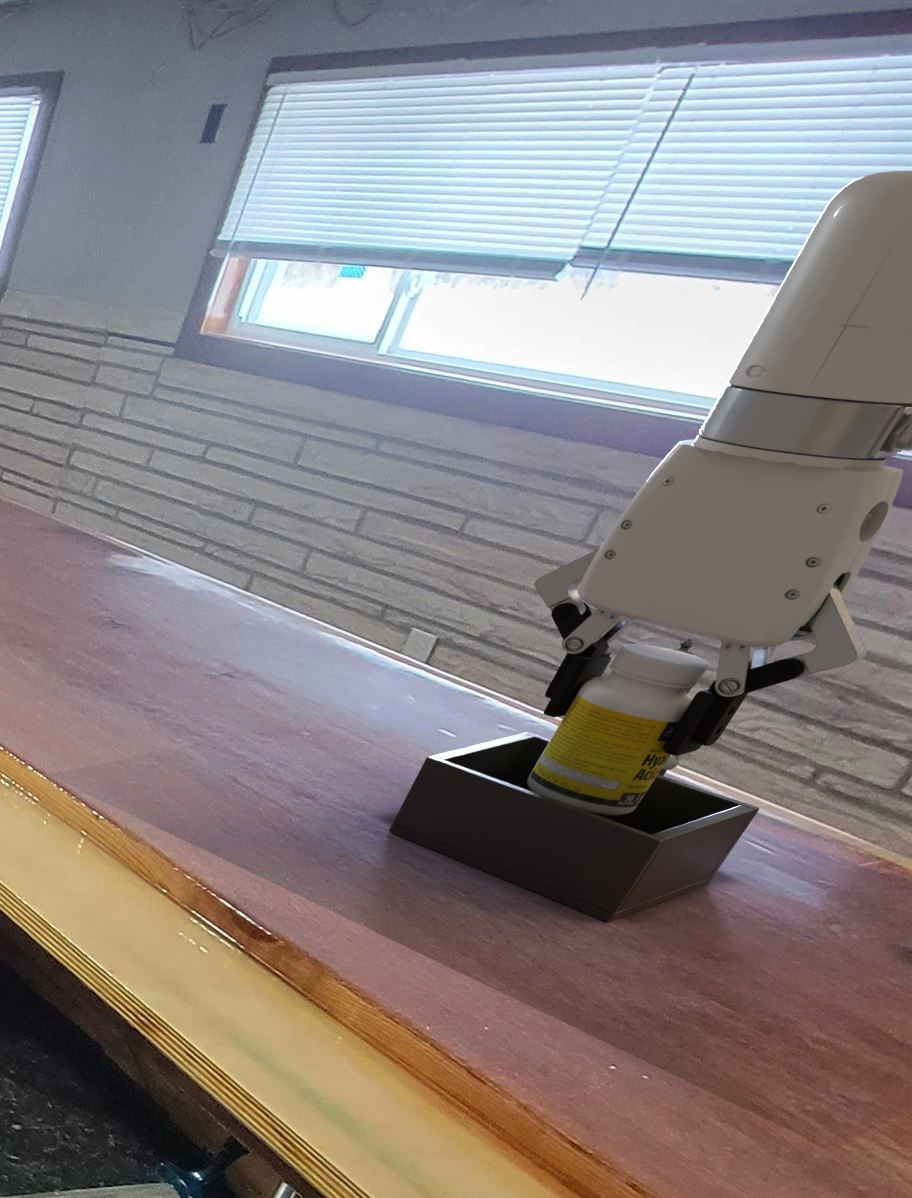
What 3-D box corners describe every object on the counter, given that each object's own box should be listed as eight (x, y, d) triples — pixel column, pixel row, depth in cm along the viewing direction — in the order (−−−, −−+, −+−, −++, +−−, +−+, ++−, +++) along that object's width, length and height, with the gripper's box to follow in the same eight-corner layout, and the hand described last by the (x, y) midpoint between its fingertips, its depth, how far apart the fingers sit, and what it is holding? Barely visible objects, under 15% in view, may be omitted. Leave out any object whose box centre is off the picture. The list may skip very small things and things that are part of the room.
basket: (488, 803, 87) (528, 731, 85) (707, 885, 78) (760, 807, 75) (387, 831, 83) (426, 756, 80) (607, 922, 73) (660, 841, 70)
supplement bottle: (625, 826, 75) (718, 676, 70) (515, 794, 78) (596, 649, 73) (641, 803, 78) (731, 658, 73) (534, 773, 81) (613, 633, 76)
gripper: (1059, 457, 61) (831, 779, 70) (642, 401, 75) (495, 677, 84) (1000, 464, 59) (770, 799, 68) (578, 404, 72) (433, 690, 81)
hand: (620, 729), depth 76 cm, fingers closed on supplement bottle, 5 cm apart
